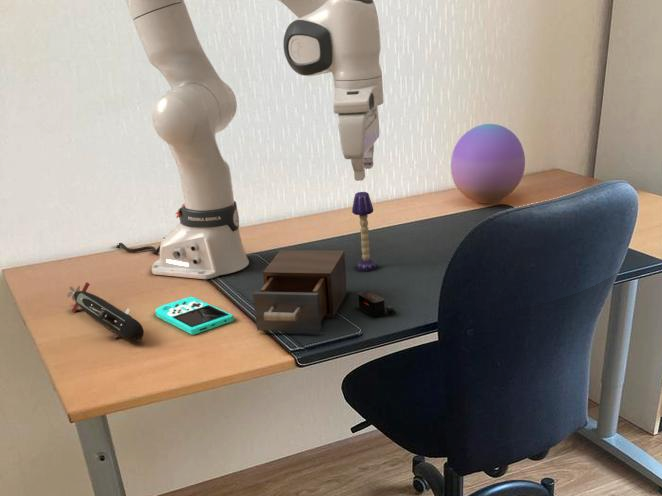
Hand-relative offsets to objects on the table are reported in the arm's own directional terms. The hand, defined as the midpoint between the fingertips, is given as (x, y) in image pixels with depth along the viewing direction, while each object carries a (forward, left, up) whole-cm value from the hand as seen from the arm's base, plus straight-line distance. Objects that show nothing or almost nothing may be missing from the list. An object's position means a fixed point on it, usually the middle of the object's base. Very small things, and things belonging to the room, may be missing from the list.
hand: (364, 173), depth 159 cm
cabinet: (-12, -4, -25) cm, 28 cm away
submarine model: (-52, -17, -25) cm, 60 cm away
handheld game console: (-34, -12, -25) cm, 44 cm away
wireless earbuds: (+3, -7, -25) cm, 26 cm away
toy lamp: (-4, +19, -25) cm, 32 cm away
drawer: (-12, -16, -24) cm, 31 cm away
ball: (+20, +75, -25) cm, 81 cm away
